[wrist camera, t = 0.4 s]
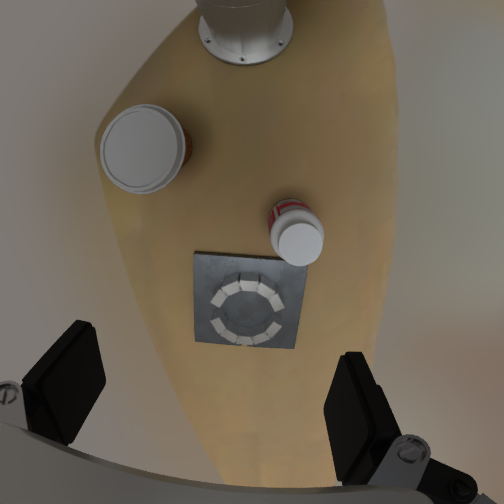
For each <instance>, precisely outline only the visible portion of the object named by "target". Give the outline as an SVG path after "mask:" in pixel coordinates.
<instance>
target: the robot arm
mask: <svg viewBox="0 0 504 504" xmlns="http://www.w3.org/2000/svg"><path fill="white" fill-rule="evenodd" d="M286 1H287V0H196V3H197V5H198V7H199V9H200V11H201V13H202V15H201V17H200V21H199V35H200V39H201V41H202V43H203V45H204V46H205V48H206V49H207V50H208V51H209V52H210V53H211V54H212V55H213V56H214V57H216V58H217V59H219V60H221V61H223V62H226V63H229V64H233V65H240V66H250V65H257V64H261V63H264V62H267V61H269V60H271V59H273V58H275V57H276V56H278V55H279V54H280V53H281V52H282V51H283V50H284V49H285V48H286V47H287V45H288V44H289V42H290V39H291V37H292V33H293V19H292V16H291V13H290V11H289V9H288V8H287V7H286ZM208 41H210V43H207V42H208ZM279 44H282V46H279ZM241 59H244V60H245V61H243V62H242V61H241ZM22 381H23V383H22V384H21V386H20V385H19V384H18V383H16V382H14V381H3V382H0V504H497V503H495V502H494V501H493V500H491V499H490V498H489V497H488V496H486V495H485V494H484V493H482V494H481V495H479V494H478V493H477V492H478V488H477V483H476V481H475V480H474V479H473V478H472V477H471V476H470V475H468V474H465V473H463V472H461V471H459V470H456V469H454V468H452V467H450V466H447V465H445V464H443V463H441V462H439V461H436V460H434V459H432V458H430V455H431V451H430V447H429V446H428V444H427V442H426V441H424V440H423V439H422V438H420V437H419V436H415V435H409V434H406V435H402V434H401V431H400V429H399V427H398V424H397V422H396V420H395V417H394V415H393V413H392V410H391V408H390V406H389V403H388V401H387V399H386V397H385V394H384V392H383V390H382V388H381V386H380V385H377V384H376V382H375V380H374V378H373V375H372V373H371V371H370V369H369V366H368V364H367V362H366V360H365V358H364V355H363V353H362V352H346V353H345V355H341V356H340V359H339V362H338V365H337V368H336V371H335V374H334V378H333V381H332V384H331V387H330V390H329V392H328V395H327V398H326V401H325V404H324V416H325V421H326V426H327V431H328V436H329V441H330V446H331V451H332V456H333V461H334V466H335V472H336V477H337V480H338V481H342V485H343V486H333V487H313V488H267V487H247V486H234V485H224V484H215V483H207V482H200V481H193V480H187V479H181V478H176V477H170V476H165V475H160V474H156V473H151V472H147V471H143V470H139V469H135V468H131V467H128V466H124V465H120V464H117V463H114V462H110V461H107V460H104V459H101V458H98V457H94V456H92V455H89V454H86V453H83V452H81V451H78V450H75V449H72V448H70V447H67V446H68V444H71V443H72V442H73V441H74V440H75V438H76V436H77V434H78V432H79V430H80V429H81V427H82V425H83V423H84V421H85V419H86V418H87V416H88V414H89V412H90V411H91V409H92V407H93V405H94V403H95V402H96V400H97V399H98V397H99V395H100V393H101V392H102V390H103V388H104V386H105V384H106V377H105V372H104V368H103V364H102V360H101V355H100V351H99V345H98V341H97V336H96V330H95V328H94V327H92V324H91V323H90V322H86V321H82V320H76V321H75V322H74V323H73V324H72V325H71V326H70V327H69V328H68V329H67V330H66V331H65V332H64V333H63V335H62V336H61V337H60V338H59V339H58V340H57V341H56V342H55V343H54V344H53V345H52V346H51V347H50V349H49V350H48V351H47V352H46V353H45V354H44V355H43V356H42V357H41V359H40V360H39V361H38V362H37V363H36V364H35V365H34V366H33V367H32V369H31V370H30V371H29V372H28V373H27V374H26V376H25V377H24V378H23V379H22Z"/></svg>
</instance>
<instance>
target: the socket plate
mask: <svg viewBox="0 0 504 504" xmlns="http://www.w3.org/2000/svg"><path fill="white" fill-rule="evenodd" d="M307 268H308V265H305V266H294V265H291V264H289V263H288V262H286V261H285V260H284V259H283V258H280V257H266V256H253V255H240V254H227V253H213V252H200V251H195V253H194V328H195V341H196V342H205V343H215V344H226V345H237V346H251V347H266V348H285V349H294V347H295V341H296V336H297V330H298V324H299V319H300V313H301V307H302V301H303V294H304V288H305V281H306V275H307Z"/></svg>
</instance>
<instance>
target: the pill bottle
mask: <svg viewBox="0 0 504 504" xmlns="http://www.w3.org/2000/svg"><path fill="white" fill-rule="evenodd" d="M268 226H269V234H270V240H271V244H272V247H273V249H274V251H275V252H276V253H277V254H278V255H279V256H280V257H281V258H283V259H284V260H285V261H286V262H288V263H289V264H291V265H294V266H305V265H308V264H310V263H312V262H314V261H315V260H316V259H317V258H318V257H319V255H320V253H321V251H322V247H323V241H324V230H323V227H322V224H321V222H320V221H319V219H318V218H317V217H316V215H315V214H314V213H313V212H312V211H311V210H310V208H309V207H308V206H307V205H306V204H304V203H303V202H301V201H299V200H295V199H287V200H283V201H281V202H279V203H278V204H276V205H275V206H274V207H273V209H272V210H271V212H270V214H269V218H268Z"/></svg>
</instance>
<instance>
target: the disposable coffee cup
mask: <svg viewBox="0 0 504 504" xmlns="http://www.w3.org/2000/svg"><path fill="white" fill-rule="evenodd" d="M191 153H192V141H191V138H190V136H189V134H188V133H187V132H186V131H185V130H184V129H183V128H182V127H181V126H180V123H179V122H178V121H177V119H176V118H175V117H174V116H173V115H172V114H171V113H170V112H168V111H167V110H166V109H164V108H161V107H159V106H156V105H151V104H141V105H136V106H132V107H130V108H128V109H126V110H124V111H123V112H121V113H120V114H119V115H118V116H117V117H116V118H114V119H113V120H112V122H111V123H110V124H109V125H108V127H107V128H106V130H105V132H104V135H103V137H102V141H101V147H100V157H101V163H102V166H103V169H104V171H105V173H106V174H107V176H108V177H109V178H110V180H111V181H112V182H113V183H114V184H116V185H117V186H118V187H120V188H121V189H123V190H125V191H127V192H130V193H135V194H149V193H152V192H155V191H158V190H160V189H162V188H163V187H165V186H166V185H167V184H169V183H170V182H171V181H172V180H173V179H174V177H175V176H176V175H177V173H178V172H179V170H180V168H181V167H182V166H183V165H185V164H186V163H187V161H188V160H189V158H190V156H191Z"/></svg>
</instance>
